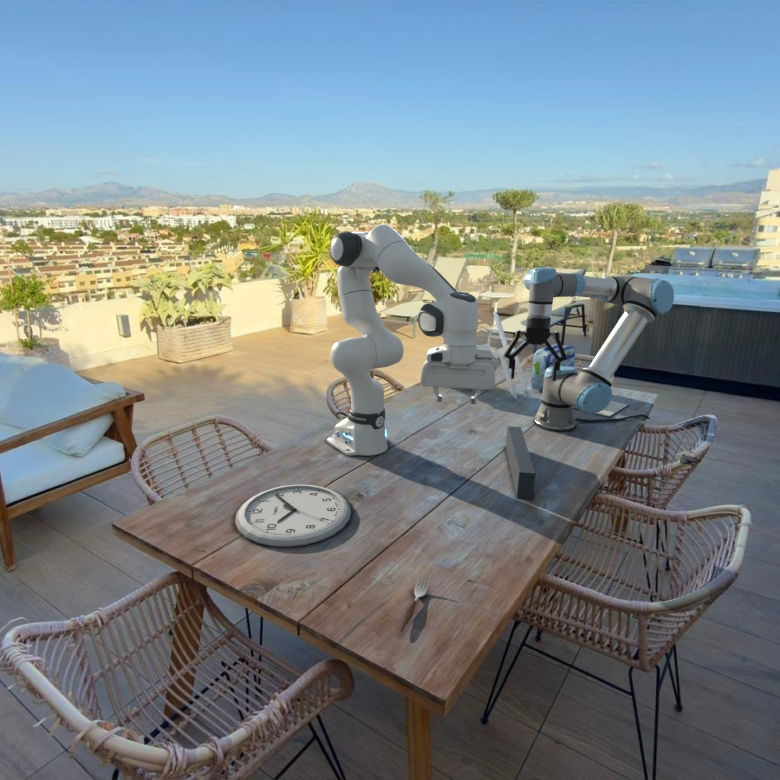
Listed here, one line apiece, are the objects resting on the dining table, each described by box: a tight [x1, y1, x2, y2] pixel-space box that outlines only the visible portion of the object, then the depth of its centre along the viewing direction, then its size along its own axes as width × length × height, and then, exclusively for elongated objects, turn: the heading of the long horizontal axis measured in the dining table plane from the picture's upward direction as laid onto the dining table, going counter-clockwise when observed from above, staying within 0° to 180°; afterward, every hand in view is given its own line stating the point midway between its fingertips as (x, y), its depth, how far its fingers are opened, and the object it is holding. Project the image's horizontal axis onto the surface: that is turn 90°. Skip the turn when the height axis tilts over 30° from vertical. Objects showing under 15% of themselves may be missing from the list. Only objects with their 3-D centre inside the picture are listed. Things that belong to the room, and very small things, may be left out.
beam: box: [505, 425, 536, 500], centre depth 164 cm, size 36×4×8 cm, turn 173°
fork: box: [400, 573, 431, 633], centre depth 105 cm, size 3×16×2 cm, turn 160°
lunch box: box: [530, 343, 576, 392], centre depth 248 cm, size 26×11×21 cm, turn 134°
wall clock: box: [234, 484, 352, 548], centre depth 138 cm, size 30×2×30 cm
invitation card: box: [573, 400, 629, 418], centre depth 226 cm, size 21×1×15 cm
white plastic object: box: [475, 310, 531, 400], centre depth 245 cm, size 37×45×31 cm
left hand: (456, 402), depth 145 cm, fingers open, 8 cm apart
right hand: (532, 378), depth 177 cm, fingers open, 13 cm apart
